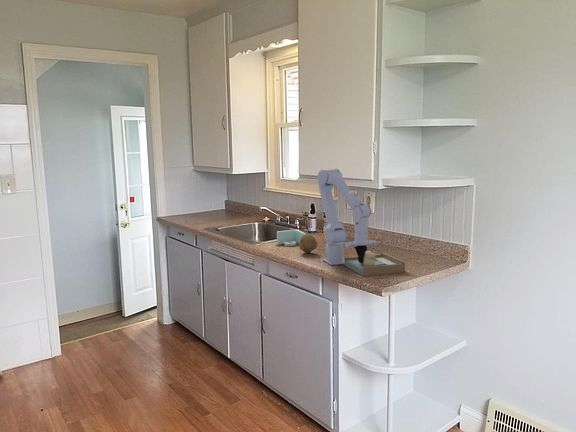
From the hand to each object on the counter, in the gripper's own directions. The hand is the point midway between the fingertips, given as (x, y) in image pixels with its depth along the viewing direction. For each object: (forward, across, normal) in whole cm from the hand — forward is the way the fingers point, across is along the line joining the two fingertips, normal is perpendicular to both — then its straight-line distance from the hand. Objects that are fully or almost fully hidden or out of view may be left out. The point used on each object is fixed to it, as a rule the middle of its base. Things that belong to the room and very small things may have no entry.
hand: (360, 262), depth 208 cm
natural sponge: (+4, -10, +37) cm, 39 cm away
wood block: (+1, +3, 0) cm, 4 cm away
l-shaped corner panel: (+4, -13, +57) cm, 58 cm away
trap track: (+3, +7, 0) cm, 8 cm away
